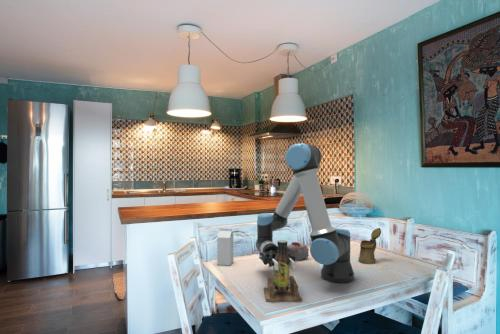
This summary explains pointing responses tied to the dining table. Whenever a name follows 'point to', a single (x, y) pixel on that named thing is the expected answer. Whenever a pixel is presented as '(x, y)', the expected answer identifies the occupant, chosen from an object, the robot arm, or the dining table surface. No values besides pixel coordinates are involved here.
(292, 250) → the food item
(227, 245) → the milk carton
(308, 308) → the dining table surface
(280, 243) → the sauce bottle
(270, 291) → the walnut slotted rack
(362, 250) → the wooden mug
